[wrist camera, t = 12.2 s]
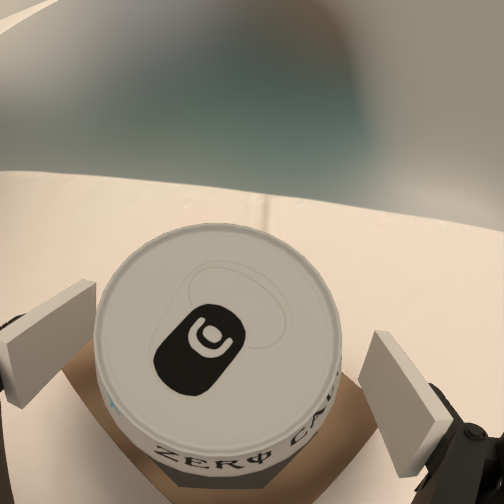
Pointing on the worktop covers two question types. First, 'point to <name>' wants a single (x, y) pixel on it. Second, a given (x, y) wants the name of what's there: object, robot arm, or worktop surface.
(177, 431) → the energy drink can
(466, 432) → the robot arm
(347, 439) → the wooden can holder
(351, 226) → the worktop surface
